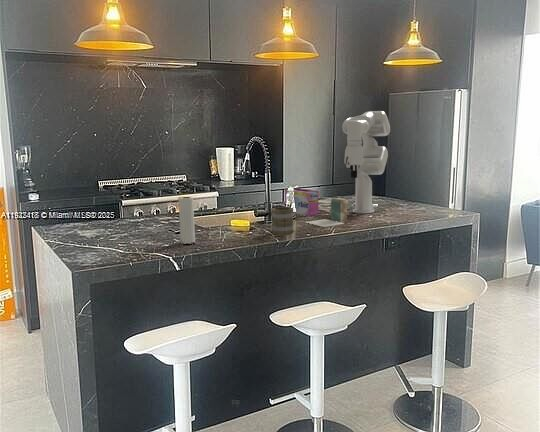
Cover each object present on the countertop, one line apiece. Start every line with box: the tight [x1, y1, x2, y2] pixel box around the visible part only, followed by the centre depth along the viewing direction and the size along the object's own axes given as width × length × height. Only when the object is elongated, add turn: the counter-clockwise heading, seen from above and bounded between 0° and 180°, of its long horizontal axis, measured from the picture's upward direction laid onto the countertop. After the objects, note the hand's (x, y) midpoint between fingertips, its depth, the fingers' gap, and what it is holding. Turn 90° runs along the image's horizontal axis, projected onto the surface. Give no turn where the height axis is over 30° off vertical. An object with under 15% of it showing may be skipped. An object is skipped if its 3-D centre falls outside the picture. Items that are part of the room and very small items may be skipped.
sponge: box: [330, 197, 348, 223], centre depth 290 cm, size 4×8×12 cm, turn 34°
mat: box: [304, 218, 346, 228], centre depth 286 cm, size 14×16×1 cm
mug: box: [271, 206, 294, 236], centre depth 266 cm, size 16×11×12 cm
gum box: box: [284, 187, 320, 217], centre depth 319 cm, size 24×8×14 cm, turn 37°
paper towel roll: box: [177, 196, 196, 243], centre depth 243 cm, size 7×6×21 cm
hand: (354, 177), depth 293 cm, fingers closed
